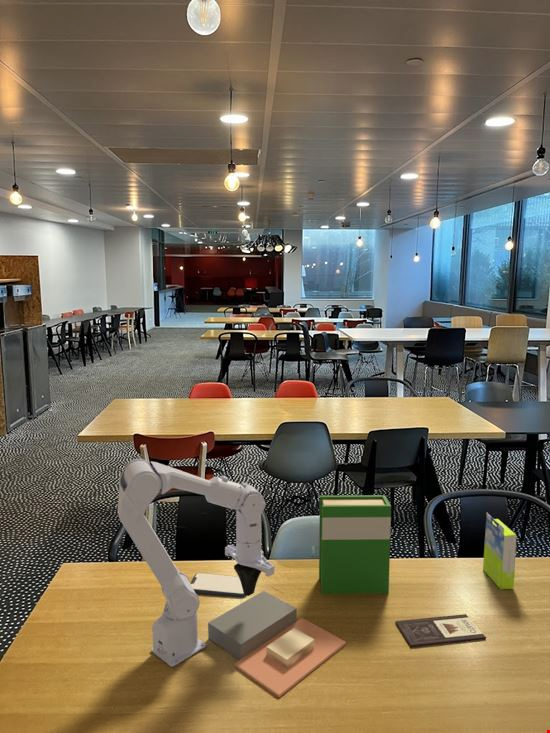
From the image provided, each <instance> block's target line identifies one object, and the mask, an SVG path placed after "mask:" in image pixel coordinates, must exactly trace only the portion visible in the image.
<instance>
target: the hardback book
mask: <svg viewBox="0 0 550 733" xmlns="http://www.w3.org/2000/svg"><path fill="white" fill-rule="evenodd" d="M391 521H392V505H391V503H390V502H389V499H388V498H387V496H386V495H385V494H383V495H381V494H377V495H376V494H374V495H372V494H371V495H370V494H369V495H363V494H362V495H360V494H359V495H355V494H354V495H353V494H352V495H351V494H350V495H346V494H345V495H342V494H341V495H319V528H318V529H319V531H318V532H319V536H318V537H319V540H318V543H319V544H318V546H319V547H318V550H319V551H318V581H321V582H320V583H321V584H320V585H321V587H320V589H321V590H320V591H321V592H320V593H321V594H322V595H326V594H327V595H329V594H330V595H333V594H334V595H336V594H337V595H340V594H341V595H342V594H344V595H345V594H347V595H352V594H354V595H355V594H356V593H357V595H358V594H359V593H360V594H361V593H362V594H363V595H364V593H365V594H389V592H390V590H389V589H390V561H391V560H390V559H391V558H390V557H391V529H392V528H391V525H392V524H391Z"/></svg>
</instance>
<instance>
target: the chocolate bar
mask: <svg viewBox="0 0 550 733" xmlns="http://www.w3.org/2000/svg"><path fill="white" fill-rule="evenodd" d="M394 622H395V625H396V626H397V628H398V630H399V631H400V633H401V634H402V636H403V639H405V641H406V643H407V644H408V646H409V647H410V649H411V648H420V647H430V646H438V645H440V646H441V645H448V644H457V643H466V642H467V641H468V642H474V641H483V640H485V641H486V636H485V634H484V633H483V632H482V631H481V630H480V628H478V626H477V625H476V624H475V623H474V622H473V621H472V619H471V618H470V617H469V616H468V615H467V613H464V614H455V615H454V614H453V615H444V616H443V615H442V616H434V617H424V618H416V619H415V618H413V619H402V620H396V621H394Z"/></svg>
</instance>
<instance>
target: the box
mask: <svg viewBox="0 0 550 733" xmlns="http://www.w3.org/2000/svg"><path fill="white" fill-rule="evenodd" d="M485 515H486V516H485V517H486V518H485V533H484V534H485V535H484V548H483V565H482V570H483V571H484V572H485V573H486V574H487V576H488V577H489V578H490V579H491V580H492V581H493V583H495V585H496V586H497V587H498V588H499V590H513V589H514V588H515V571H516V569H515V568H516V552H517V534H516V533H514V531H512V530H511V529H510V528H509V526H507V525H506V524H504V523H503V522H502V521H501V520H500V519H499V518H494V517H493V516H492V515H490V514H489V513H488V512H486V513H485Z"/></svg>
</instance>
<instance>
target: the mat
mask: <svg viewBox="0 0 550 733" xmlns="http://www.w3.org/2000/svg"><path fill="white" fill-rule="evenodd" d="M293 628H295V629H297V630H299V631H300V632H302V633H304V634H306V635H307V636H309V637H311V638H313V639H314V640H315V641H314V649H312V650H311V651H310V652H308V653H307V654H306V655H304V656H303V657H302V658H300V659H299V660H298V661H296V662H295V663H294V664H292V665H291V666H290V667H288V668H285V667H284V666H282V665H281V664H279V663H278V662H276V661H275V660H273V659H272V658H270V657H268V656H267V655H266V647H267V646H268V645H270V644H271V643H273V642H274V641H275V640H277V639H278V638H280V637H281V636H283V635H284V634H286V633H287V632H289V631H290V630H292V629H293ZM346 645H347V641H346V640H344V639H342V638H340V637H338V636H336V635H335V634H333V633H330V632H329V631H327V630H325V629H323V628H321V627H320V626H318V625H316V624H314V623H313V622H311V621H309V620H307V619H305V618H303V617H301V618H300V619H299V620H297V622H295V623H294V624H292V625H291V626H289V627H288V628H286V629H285V630H283V631H282V632H280V633H279V634H277V635H276V636H274V637H273V638H271V639H270V640H268V641H267V642H266V643H264V644H263V645H261V646H260V647H258V648H257V649H255V650H254V651H252V652H251V653H249V654H248V655H246V656H245V657H243V658H242V659H240V660H237V661H236V662H234V664H233V665H234V667H235V668H236V669H237V670H239V671H241V672H242V673H244V674H245V675H246V676H248V677H249V678H251V680H253V681H255V682H256V683H257V684H259V685H260V686H262V687H263V688H264V689H266V690H268V691H269V692H270V693H272V694H273V695H275V697H278V698H281V697H282V696H283V695H285V694H286V693H287V692H288V691H290V690H291V689H292V688H294V686H296V685H298V684H299V682H301V681H302V680H303V679H304V678H306V677H307V676H309V674H311V673H312V672H313V671H315V670H316V669H317V668H318V667H319V666H321V665H322V664H323V663H324V662H326V661H327V660H328V659H330V658H331V657H332V656H333V655H335V654H336V653H337V652H339V650H341V649H342V648H343V647H345V646H346Z"/></svg>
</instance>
